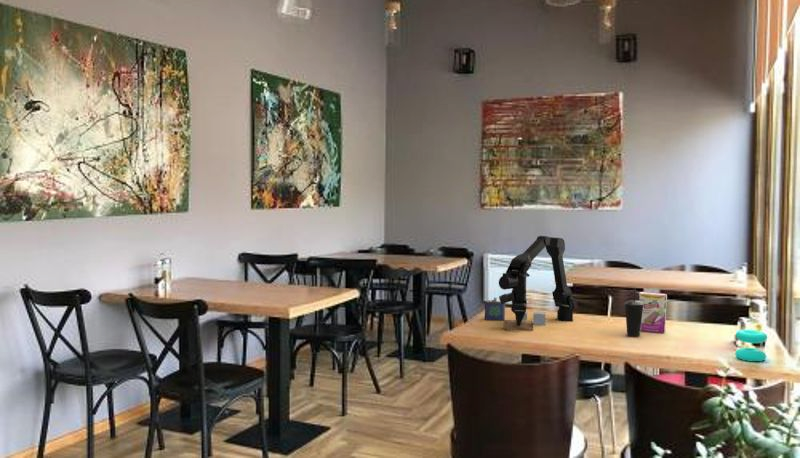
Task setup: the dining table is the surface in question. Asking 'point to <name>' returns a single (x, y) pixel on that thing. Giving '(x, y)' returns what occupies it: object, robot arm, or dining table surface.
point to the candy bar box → (653, 312)
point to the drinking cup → (633, 316)
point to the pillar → (539, 318)
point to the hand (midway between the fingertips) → (518, 323)
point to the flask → (494, 310)
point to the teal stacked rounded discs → (751, 337)
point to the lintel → (524, 326)
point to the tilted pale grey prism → (524, 316)
